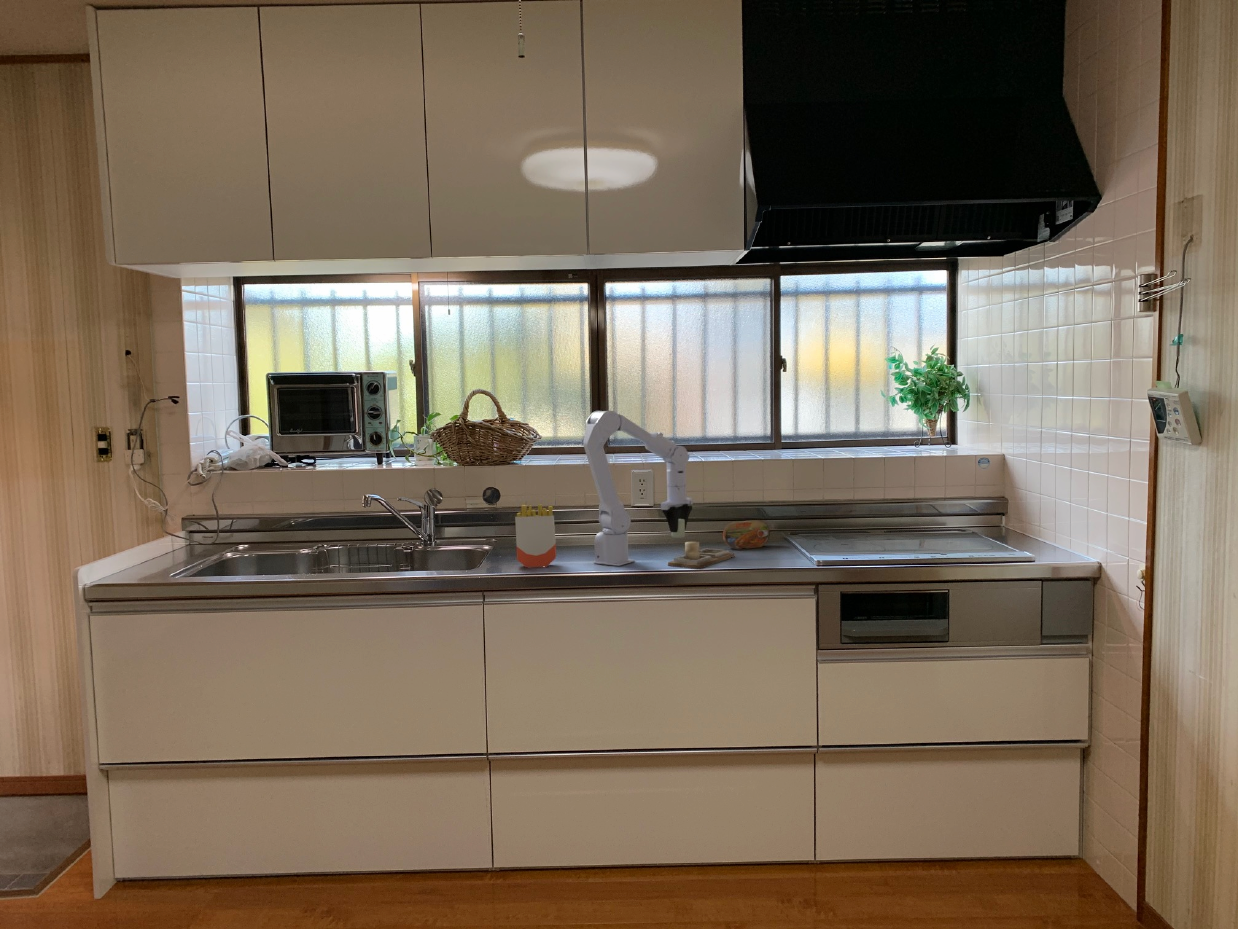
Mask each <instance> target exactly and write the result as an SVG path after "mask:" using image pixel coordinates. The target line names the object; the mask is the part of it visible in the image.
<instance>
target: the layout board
mask: <svg viewBox="0 0 1238 929" xmlns="http://www.w3.org/2000/svg"><path fill="white" fill-rule="evenodd" d="M699 550H700V559H698V560H691V559H686V557H685V554H683V555H681V556H678V557H675V558H673V560H672V561H668V563H667V566H668V567H673V568H674V567H675V568H683V567H684V569H685V568H686V569H694V570H695V569H696V570H701V569H703V568H707V567H708V565H709V566H712V565H714V564H717V562H718V563H720V562H723V561H726V560H729V559H732V558H735V553H734V552H729V550H728V549H719V548H718V549H717V548H703V549H699ZM731 557H732V558H731Z"/></svg>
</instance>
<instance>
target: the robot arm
mask: <svg viewBox="0 0 1238 929" xmlns="http://www.w3.org/2000/svg"><path fill="white" fill-rule="evenodd" d="M585 427H586V428H585V432H584V438H583V448H584V452H585V454H586V458H587V462H588V465H589V469H590V472H591V475H592V479H593V481H594V486H595V489H596V492H597V495H598V496H597V497H598V500H599V504H598V505H599V506H598V512H599V515H598V523H599V525H600V526H601V528H602V531H598V533H597V534H596V535H595V538H594V541H593V542H594V543H593V544H594V545H593V546H594V561H593V564H597V565H605V566H607V565H608V566H615V567H616V566H617V567H619V566H624V565H627V564H630V563H633V562H635V561H636V560H635V559H631V558H629V538H628V534H629V533H628V530H629V528H630V526H631V523H632V520H631V516H630V514H629V513H628V512H627V510H626V508H625V506H624V504H623V503H622V501H621V500H620V498H619V496H618V493H617V490H616V486H615V482H614V479H613V476H612V473H611V468H610V465H609V461H608V458H607V455H606V452H605V449H604V446H605V444H606V443H607V441H608V440H609V439H610V437H612V436H613V435H614V434H615V433H616V432H623V433H624V434H627V435H628V436H630V437H633V438H634V439H636V440H638V441H640V442H642V443H643V444H644V448H645V450H646V451H648V452H650V453H652V454H654V455H656V456H657V457H659V458H661V459H662V461H663V462H664V463H665V464H666V489H667V490H666V491H667V492H666V493H667V494H666V495H667V498H666V499H667V500H665V501H663V502H661V503H660V510H662V511H661V512H662V514H663V515H664V517H665V519H666V521H667V524H668V528H669V531H670V533H671V532H677V531H678V520H679V519H684V521H685V531H686V529H687V525H688V521H689V520H688V519H689V517H690V514H691V512H692V510H693V504H694V501H693V500H694V499H693V497H687V494H688V493H687V463H688V462H689V459H690V454H689V452H688V450H687V448H686V447H685V446H683V445H677V444H676V441H675V440H670V439H668V438H667V437H665V436H664V433H662V432H660V431H659V432H657V431H654V432H648V430H645V429H644V428H642V427H641V426H640V425H638V424H636V423H635V422H633V421H632V420H631V419H629V418H627V417H626V416H624V415H623V414H621V413H617V412H616V411H614V410H603V411H602V410H595V411H593V412H592V413H591V414H590V415H589V416H588V418H587V419H586V421H585Z"/></svg>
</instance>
